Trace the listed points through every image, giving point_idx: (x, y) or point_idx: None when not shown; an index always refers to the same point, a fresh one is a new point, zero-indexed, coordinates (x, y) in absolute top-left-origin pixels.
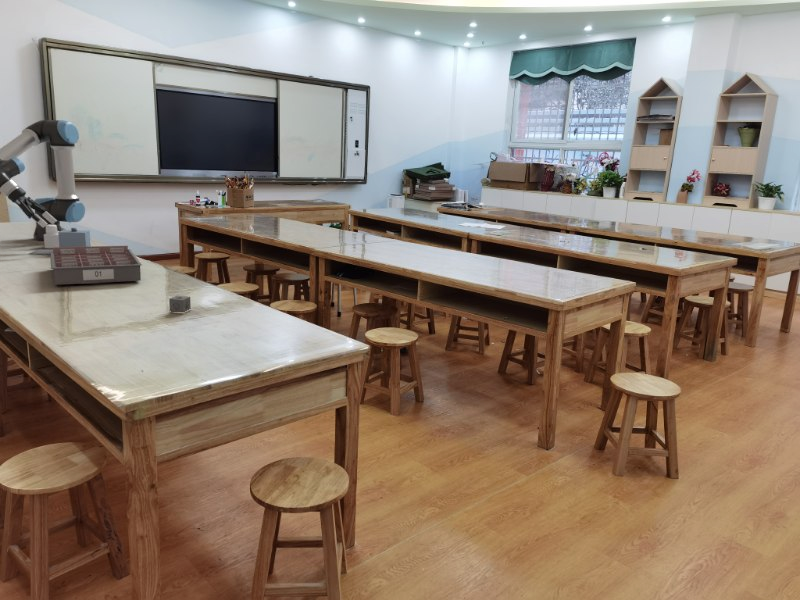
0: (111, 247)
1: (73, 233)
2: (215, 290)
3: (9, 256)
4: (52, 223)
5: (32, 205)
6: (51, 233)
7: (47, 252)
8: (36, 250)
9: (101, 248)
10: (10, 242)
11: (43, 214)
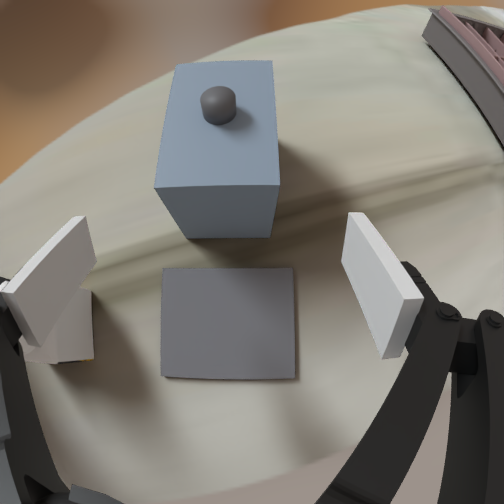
0: (467, 32)
1: (275, 108)
2: (493, 11)
3: (351, 435)
4: (92, 259)
5: (39, 472)
6: None
7: (254, 300)
8: (194, 373)
9: (482, 50)
10: None
11: (37, 327)
